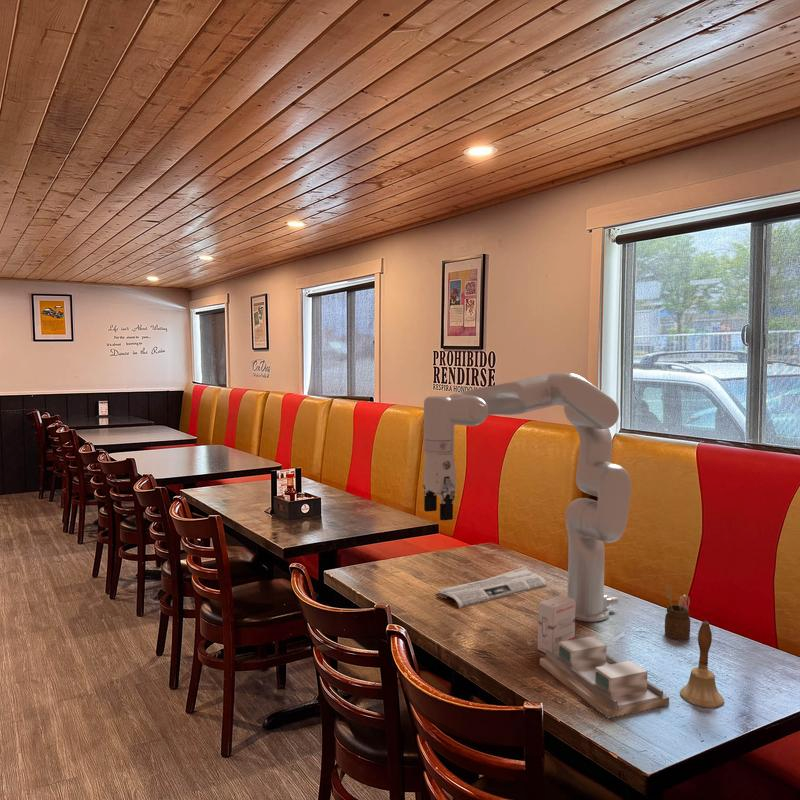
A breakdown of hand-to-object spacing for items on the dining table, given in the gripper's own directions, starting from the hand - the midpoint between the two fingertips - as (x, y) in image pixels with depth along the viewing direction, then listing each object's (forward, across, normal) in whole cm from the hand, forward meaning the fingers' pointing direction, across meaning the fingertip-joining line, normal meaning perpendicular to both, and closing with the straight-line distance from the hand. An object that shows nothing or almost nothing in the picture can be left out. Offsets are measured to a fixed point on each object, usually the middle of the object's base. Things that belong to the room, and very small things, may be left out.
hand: (438, 515), depth 163 cm
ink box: (+31, -16, -24) cm, 43 cm away
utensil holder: (+31, -19, -58) cm, 68 cm away
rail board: (+31, -34, -24) cm, 51 cm away
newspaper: (+32, +25, -29) cm, 50 cm away
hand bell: (+31, -45, -40) cm, 68 cm away
